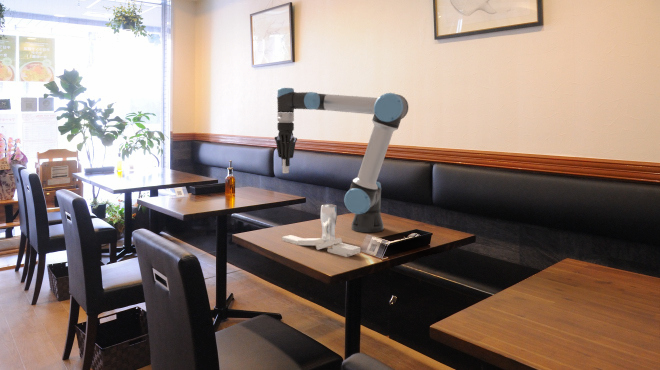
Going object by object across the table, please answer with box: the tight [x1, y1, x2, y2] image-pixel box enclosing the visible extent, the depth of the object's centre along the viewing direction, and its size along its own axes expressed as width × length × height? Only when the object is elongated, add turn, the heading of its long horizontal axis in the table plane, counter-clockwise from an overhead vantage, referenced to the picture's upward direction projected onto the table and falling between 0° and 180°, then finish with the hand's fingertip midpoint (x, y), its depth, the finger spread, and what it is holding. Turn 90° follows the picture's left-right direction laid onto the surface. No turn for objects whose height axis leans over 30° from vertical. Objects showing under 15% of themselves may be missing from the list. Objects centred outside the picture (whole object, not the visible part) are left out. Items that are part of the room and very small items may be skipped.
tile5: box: [327, 246, 356, 258], centre depth 191 cm, size 2×5×10 cm
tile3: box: [315, 236, 343, 251], centre depth 193 cm, size 2×5×10 cm
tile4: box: [332, 242, 361, 256], centre depth 188 cm, size 2×5×10 cm
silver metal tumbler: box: [320, 203, 338, 242], centre depth 209 cm, size 7×7×15 cm
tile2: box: [297, 237, 324, 246], centre depth 200 cm, size 2×5×10 cm
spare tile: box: [281, 234, 305, 246], centre depth 207 cm, size 2×5×10 cm
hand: (285, 172), depth 227 cm, fingers closed
